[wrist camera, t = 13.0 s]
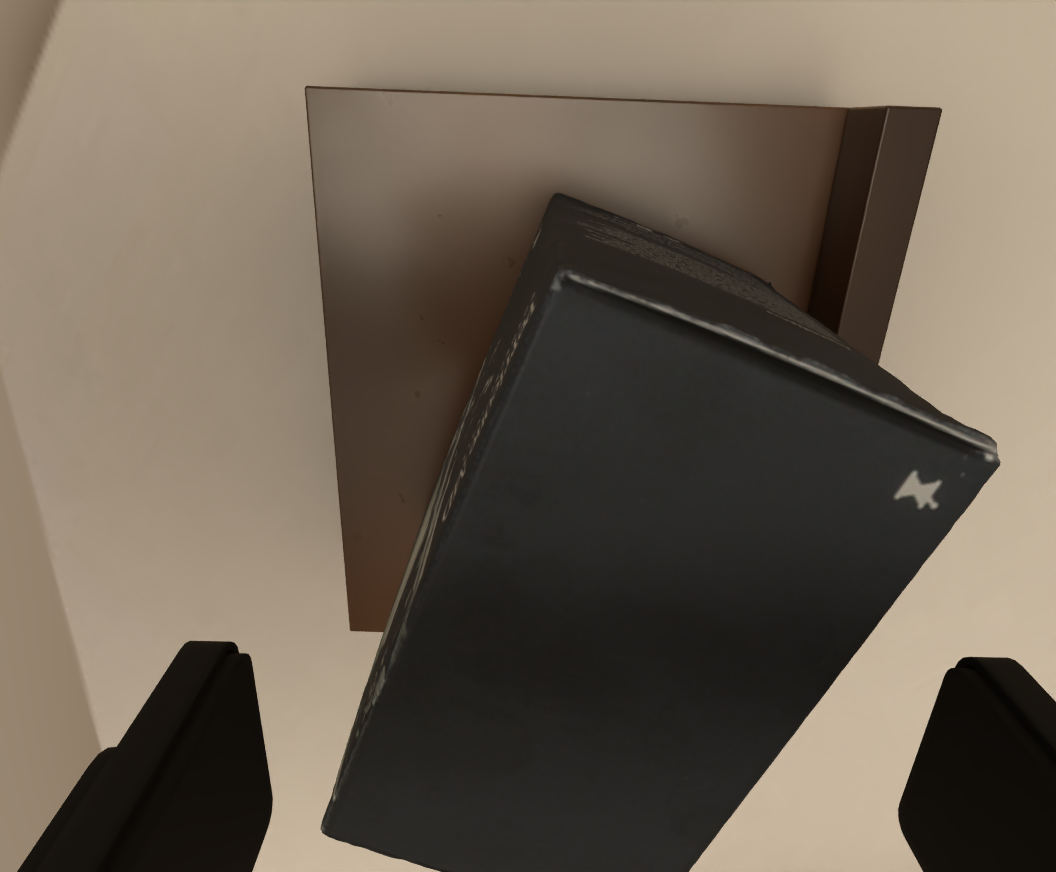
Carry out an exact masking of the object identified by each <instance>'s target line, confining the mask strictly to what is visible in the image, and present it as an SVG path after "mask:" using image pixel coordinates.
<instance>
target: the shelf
mask: <svg viewBox="0 0 1056 872" xmlns="http://www.w3.org/2000/svg"><path fill="white" fill-rule="evenodd" d="M305 97H306V109H307V121H308V133H309V145H310V157H311V169H312V181H313V193H314V205H315V217H316V229H317V241H318V253H319V265H320V277H321V289H322V301H323V313H324V325H325V337H326V349H327V361H328V373H329V385H330V397H331V408H332V420H333V432H334V444H335V456H336V468H337V480H338V492H339V504H340V516H341V528H342V540H343V552H344V564H345V576H346V588H347V600H348V612H349V624H350V631H365V632H384V630H385V627H386V624H387V621H388V618H389V615H390V612H391V609H392V606H393V603H394V600H395V597H396V594H397V591H398V589H399V586H400V583H401V580H402V578H403V575H404V572H405V568H406V566H407V563H408V560H409V557H410V554H411V551H412V548H413V545H414V542H415V539H416V536H417V534H418V531H419V528H420V525H421V522H422V519H423V517H424V514H425V511H426V509H427V506H428V503H429V501H430V498H431V496H432V493H433V490H434V488H435V485H436V482H437V480H438V477H439V474H440V472H441V469H442V467H443V464H444V461H445V459H446V456H447V454H448V451H449V448H450V445H451V443H452V440H453V438H454V435H455V433H456V430H457V427H458V425H459V422H460V420H461V417H462V415H463V412H464V409H465V407H466V405H467V402H468V400H469V398H470V395H471V393H472V390H473V388H474V385H475V383H476V380H477V378H478V376H479V373H480V371H481V368H482V366H483V363H484V361H485V358H486V356H487V353H488V351H489V348H490V346H491V343H492V341H493V338H494V335H495V333H496V331H497V329H498V326H499V324H500V321H501V319H502V316H503V314H504V312H505V309H506V307H507V304H508V302H509V299H510V297H511V295H512V292H513V289H514V287H515V284H516V282H517V280H518V277H519V274H520V272H521V269H522V267H523V264H524V262H525V260H526V257H527V255H528V253H529V251H530V248H531V246H532V243H533V240H534V238H535V236H536V233H537V231H538V229H539V225H540V223H541V221H542V218H543V216H544V214H545V211H546V209H547V207H548V204H549V202H550V200H551V198H552V197H553V195H554V194H556V193H562V194H564V195H566V196H569V197H572V198H575V199H578V200H580V201H583V202H585V203H587V204H589V205H592V206H595V207H598V208H601V209H603V210H606V211H608V212H611V213H613V214H616V215H619V216H621V217H623V218H626V219H629V220H632V221H634V222H636V223H638V224H640V225H642V226H645V227H647V228H649V229H652V230H654V231H656V232H660V233H663V234H666V235H668V236H670V237H672V238H674V239H676V240H679V241H681V242H683V243H685V244H687V245H689V246H691V247H694V248H696V249H699V250H701V251H703V252H705V253H707V254H709V255H711V256H713V257H716V258H718V259H720V260H723V261H725V262H727V263H729V264H731V265H733V266H736V267H738V268H739V269H741V270H743V271H746V272H748V273H751V274H753V275H755V276H757V277H759V278H761V279H763V280H764V281H765V282H766V283H769V282H771V283H772V287H774V288H775V291H777V292H778V293H780V294H781V295H783V296H784V297H785V298H787V299H788V300H790V301H791V302H793V303H794V304H795V305H796V306H797V307H799V308H800V309H801V310H802V311H804V312H805V313H807V314H809V315H810V316H811V317H812V318H814V319H816V320H817V321H819V322H820V323H821V324H823V325H824V326H825V327H826V328H828V329H830V330H831V331H832V332H834V333H836V334H837V335H838V336H839V337H841V338H842V339H844V340H845V341H847V342H848V343H849V344H850V345H851V346H852V347H853V348H855V349H856V350H858V351H859V352H861V353H863V354H864V355H866V356H867V357H868V358H869V359H870V360H872V361H873V362H875V363H876V364H877V365H878V363H879V359H880V355H881V351H882V347H883V344H884V340H885V336H886V332H887V328H888V324H889V320H890V316H891V312H892V308H893V304H894V300H895V296H896V292H897V288H898V284H899V280H900V276H901V272H902V268H903V264H904V260H905V256H906V252H907V248H908V244H909V240H910V236H911V232H912V228H913V224H914V220H915V216H916V212H917V208H918V204H919V200H920V196H921V192H922V188H923V184H924V180H925V176H926V172H927V168H928V164H929V160H930V156H931V152H932V148H933V145H934V141H935V137H936V133H937V129H938V125H939V121H940V117H941V113H942V109H941V108H936V107H912V106H872V107H854V108H844V107H819V106H794V105H769V104H744V103H720V102H695V101H670V100H645V99H620V98H595V97H571V96H546V95H521V94H496V93H471V92H446V91H422V90H397V89H372V88H347V87H322V86H306V87H305Z"/></svg>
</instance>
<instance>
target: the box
mask: <svg viewBox="0 0 1056 872" xmlns="http://www.w3.org/2000/svg"><path fill="white" fill-rule="evenodd" d="M999 466H1000V460H999V458H998V454H997V443H996V442H995V441H994V440H993V439H992V438H991V437H990V436H988V435H986V434H984V433H982V432H980V431H978V430H976V429H973V428H971V427H968V426H965V425H963V424H962V423H960V422H958V421H956V420H955V419H953V418H951V417H949V416H947V415H945V414H943V413H941V412H940V411H939V410H937V409H936V408H935V407H934V406H932V405H931V404H930V403H929V402H927V401H926V400H924V399H923V398H921V397H920V396H918V395H917V394H915V393H914V392H913V391H911V390H910V389H909V388H908V387H907V386H906V385H905V384H903V383H902V382H901V381H900V380H898V379H897V378H896V377H894V376H893V375H891V374H890V373H889V372H887V371H886V370H884V369H883V368H881V367H880V366H879V365H877V364H876V363H875V362H873V361H872V360H870V359H869V358H868V357H867V356H866V355H864V354H863V353H861V352H859V351H858V350H856V349H855V348H853V347H852V346H851V345H850V344H849V343H848V342H847V341H845V340H844V339H842V338H841V337H839V336H838V335H837V334H836V333H834V332H832V331H831V330H830V329H828V328H826V327H825V326H824V325H823V324H821V323H820V322H819V321H817V320H816V319H814V318H812V317H811V316H810V315H809V314H807V313H805V312H804V311H802V310H801V309H800V308H799V307H797V306H796V305H795V304H794V303H793V302H791V301H790V300H788V299H787V298H785V297H784V296H783V295H781V294H780V293H778V292H777V291H775V288H774V287H772V283H771V282H769V283H766V282H765V281H764V280H763V279H761V278H759V277H757V276H755V275H753V274H751V273H748V272H746V271H743V270H741V269H739V268H738V267H736V266H733V265H731V264H729V263H727V262H725V261H723V260H720V259H718V258H716V257H713V256H711V255H709V254H707V253H705V252H703V251H701V250H699V249H696V248H694V247H691V246H689V245H687V244H685V243H683V242H681V241H679V240H676V239H674V238H672V237H670V236H668V235H666V234H663V233H660V232H656V231H654V230H652V229H649V228H647V227H645V226H642V225H640V224H638V223H636V222H634V221H632V220H629V219H626V218H623V217H621V216H619V215H616V214H613V213H611V212H608V211H606V210H603V209H601V208H598V207H595V206H592V205H589V204H587V203H585V202H583V201H580V200H578V199H575V198H572V197H569V196H566V195H564V194H562V193H556V194H554V195H553V197H552V198H551V200H550V202H549V204H548V207H547V209H546V211H545V214H544V216H543V218H542V221H541V223H540V225H539V229H538V231H537V233H536V236H535V238H534V240H533V243H532V246H531V248H530V251H529V253H528V255H527V257H526V260H525V262H524V264H523V267H522V269H521V272H520V274H519V277H518V280H517V282H516V284H515V287H514V289H513V292H512V295H511V297H510V299H509V302H508V304H507V307H506V309H505V312H504V314H503V316H502V319H501V321H500V324H499V326H498V329H497V331H496V333H495V335H494V338H493V341H492V343H491V346H490V348H489V351H488V353H487V356H486V358H485V361H484V363H483V366H482V368H481V371H480V373H479V376H478V378H477V380H476V383H475V385H474V388H473V390H472V393H471V395H470V398H469V400H468V402H467V405H466V407H465V409H464V412H463V415H462V417H461V420H460V422H459V425H458V427H457V430H456V433H455V435H454V438H453V440H452V443H451V445H450V448H449V451H448V454H447V456H446V459H445V461H444V464H443V467H442V469H441V472H440V474H439V477H438V480H437V482H436V485H435V488H434V490H433V493H432V496H431V498H430V501H429V503H428V506H427V509H426V511H425V514H424V517H423V519H422V522H421V525H420V528H419V531H418V534H417V536H416V539H415V542H414V545H413V548H412V551H411V554H410V557H409V560H408V563H407V566H406V568H405V572H404V575H403V578H402V580H401V583H400V586H399V589H398V591H397V594H396V597H395V600H394V603H393V606H392V609H391V612H390V615H389V618H388V621H387V624H386V627H385V630H384V633H383V636H382V639H381V642H380V645H379V648H378V651H377V654H376V657H375V661H374V664H373V667H372V670H371V673H370V676H369V679H368V682H367V684H366V687H365V690H364V692H363V696H362V700H361V702H360V706H359V709H358V712H357V715H356V719H355V722H354V725H353V727H352V729H351V733H350V736H349V739H348V743H347V746H346V749H345V753H344V756H343V759H342V762H341V765H340V768H339V772H338V775H337V779H336V783H335V786H334V789H333V793H332V796H331V799H330V802H329V804H328V807H327V809H326V812H325V815H324V818H323V821H322V824H321V828H320V829H321V831H322V833H323V834H325V835H326V836H328V837H330V838H333V839H335V840H338V841H342V842H346V843H349V844H351V845H354V846H358V847H363V848H366V849H368V850H371V851H374V852H376V853H379V854H382V855H385V856H388V857H392V858H396V859H403V860H406V861H409V862H411V863H414V864H417V865H420V866H423V867H426V868H430V869H434V870H437V871H440V872H689V871H690V869H691V868H692V866H693V865H694V864H695V863H696V862H697V860H698V859H699V858H700V856H701V854H702V853H703V852H704V851H705V850H706V848H707V847H708V846H709V844H710V843H711V842H712V840H713V839H714V838H715V836H716V835H717V834H718V832H719V831H720V830H721V828H722V827H723V826H724V824H725V823H726V822H727V820H728V819H729V818H730V817H731V816H732V814H733V813H734V812H735V810H736V809H737V808H738V806H739V805H740V804H741V802H742V801H743V800H744V798H745V797H746V796H747V794H748V793H749V792H750V790H751V789H752V788H753V787H754V786H755V784H756V783H757V782H758V780H759V779H760V778H761V776H762V775H763V774H764V773H765V771H766V770H767V769H768V767H769V766H770V765H771V764H772V762H773V761H774V760H775V758H776V757H777V756H778V754H779V753H780V752H781V750H782V749H783V748H784V746H785V745H786V744H787V742H788V741H789V740H790V739H791V737H792V736H793V735H794V734H795V732H796V731H797V730H798V728H799V727H800V725H801V724H802V723H803V721H804V720H805V718H806V717H807V716H808V715H809V713H810V712H811V711H812V710H813V708H814V707H815V706H816V705H817V703H818V702H819V701H820V700H821V698H822V697H823V696H824V694H825V693H826V692H827V690H828V689H829V688H830V686H831V685H832V684H833V682H834V681H835V679H836V678H837V677H838V675H839V674H840V673H841V671H842V670H843V669H844V668H845V667H846V665H847V664H848V663H849V661H850V660H851V658H852V657H853V656H854V654H855V653H856V652H857V651H858V650H859V648H860V647H861V646H862V644H863V643H864V642H865V640H866V639H867V638H868V637H869V635H870V634H871V633H872V631H873V630H874V629H875V627H876V626H877V625H878V623H879V622H880V620H881V619H882V618H883V616H884V615H885V614H886V612H887V611H888V610H889V609H890V608H891V606H892V605H893V604H894V602H895V601H896V599H897V598H898V597H899V595H900V594H901V593H902V591H903V590H904V589H905V588H906V586H907V585H908V584H909V583H910V581H911V580H912V579H913V578H914V576H915V575H916V574H917V572H918V571H919V569H920V568H921V566H922V565H923V564H924V562H925V561H926V560H927V559H928V558H929V556H930V555H931V554H932V553H933V552H934V550H935V549H936V548H937V546H938V545H939V544H940V543H941V541H942V540H943V539H944V537H945V536H946V535H947V534H948V532H949V531H950V530H951V528H952V527H953V525H954V523H955V522H956V521H957V520H958V519H959V517H960V516H961V515H962V514H963V513H964V512H965V510H966V509H967V508H968V506H969V505H970V504H971V502H972V501H973V500H974V498H975V497H976V496H977V494H978V493H979V491H980V490H981V488H982V487H983V485H984V484H985V483H986V482H987V481H988V479H989V478H990V477H991V476H992V475H993V473H994V472H995V471H996V470H997V468H998V467H999Z"/></svg>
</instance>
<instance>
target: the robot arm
mask: <svg viewBox="0 0 1056 872" xmlns="http://www.w3.org/2000/svg"><path fill="white" fill-rule="evenodd" d="M272 803H273V798H272V789H271V783H270V776H269V770H268V763H267V757H266V751H265V744H264V738H263V731H262V725H261V718H260V712H259V705H258V699H257V692H256V686H255V679H254V673H253V666H252V661H251V657H250V656H249V654H246V653H239V651H238V647H237V645H236V644H235V643H234V642H221V641H189V642H187V643H185V644H184V645H183V647H182V648H181V649H180V651H179V652H178V654H177V655H176V657H175V658H174V660H173V661H172V663H171V664H170V666H169V667H168V669H167V671H166V672H165V674H164V675H163V677H162V678H161V680H160V681H159V683H158V684H157V686H156V687H155V689H154V690H153V692H152V694H151V695H150V697H149V698H148V700H147V701H146V703H145V704H144V706H143V707H142V709H141V710H140V712H139V714H138V715H137V717H136V718H135V720H134V721H133V723H132V724H131V726H130V727H129V729H128V730H127V732H126V733H125V735H124V737H123V738H122V740H121V741H120V743H119V744H118V746H117V747H111V748H107V749H105V750H104V751H102V752H101V753H99V754H98V755H97V757H96V758H95V759H94V760H93V761H92V763H91V764H90V765H89V766H88V768H87V769H86V771H85V772H84V774H83V775H82V777H81V778H80V780H79V781H78V782H77V784H76V786H75V787H74V788H73V790H72V791H71V793H70V794H69V796H68V797H67V799H66V800H65V802H64V803H63V805H62V806H61V808H60V809H59V811H58V812H57V814H56V815H55V817H54V818H53V819H52V821H51V823H50V824H49V826H48V827H47V828H46V830H45V831H44V833H43V834H42V836H41V837H40V839H39V840H38V842H37V843H36V845H35V846H34V848H33V849H32V851H31V852H30V854H29V855H28V856H27V858H26V860H25V861H24V863H23V864H22V865H21V867H20V868H19V870H18V871H17V872H252V871H253V868H254V865H255V862H256V860H257V857H258V854H259V851H260V848H261V846H262V843H263V840H264V837H265V835H266V832H267V829H268V826H269V822H270V818H271V813H272ZM898 817H899V823H900V827H901V830H902V832H903V835H904V837H905V839H906V841H907V843H908V844H909V846H910V848H911V850H912V852H913V854H914V855H915V857H916V859H917V861H918V863H919V865H920V866H921V868H922V870H923V872H1056V702H1055V701H1054V700H1053V698H1052V697H1051V696H1050V695H1049V694H1048V693H1047V692H1046V691H1045V690H1044V689H1043V688H1042V687H1041V686H1040V685H1039V684H1038V682H1037V681H1036V680H1035V679H1034V678H1033V677H1032V676H1031V675H1030V674H1029V673H1028V672H1027V671H1026V670H1025V669H1024V668H1023V666H1021V665H1020V664H1019V663H1018V662H1016V661H1015V660H1013V659H1010V658H993V657H965V658H962V659H961V660H960V661H958V663H957V665H956V667H955V668H951V669H949V670H948V671H947V672H946V674H945V676H944V679H943V682H942V685H941V688H940V690H939V693H938V696H937V699H936V702H935V705H934V707H933V710H932V713H931V716H930V719H929V721H928V724H927V727H926V730H925V733H924V736H923V738H922V741H921V744H920V747H919V750H918V753H917V755H916V758H915V761H914V764H913V767H912V770H911V772H910V775H909V778H908V781H907V784H906V787H905V789H904V792H903V795H902V798H901V801H900V804H899V808H898Z"/></svg>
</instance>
